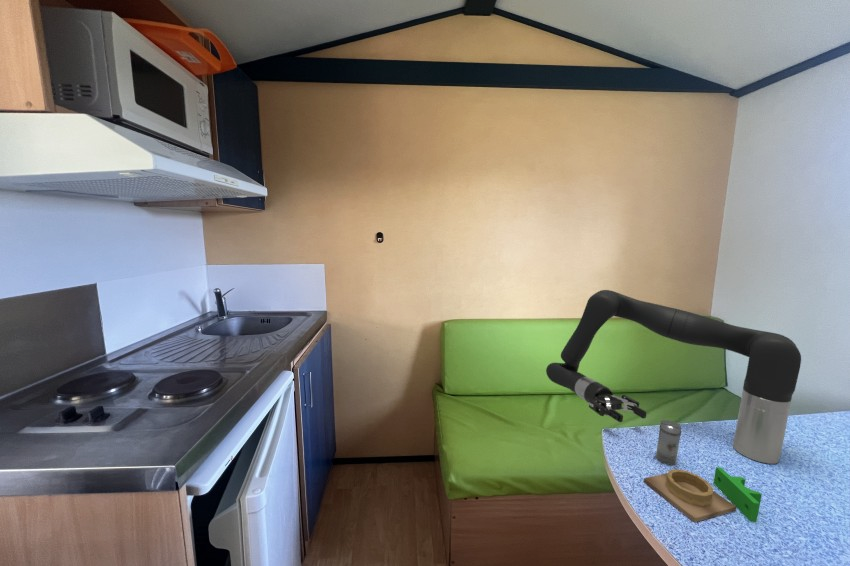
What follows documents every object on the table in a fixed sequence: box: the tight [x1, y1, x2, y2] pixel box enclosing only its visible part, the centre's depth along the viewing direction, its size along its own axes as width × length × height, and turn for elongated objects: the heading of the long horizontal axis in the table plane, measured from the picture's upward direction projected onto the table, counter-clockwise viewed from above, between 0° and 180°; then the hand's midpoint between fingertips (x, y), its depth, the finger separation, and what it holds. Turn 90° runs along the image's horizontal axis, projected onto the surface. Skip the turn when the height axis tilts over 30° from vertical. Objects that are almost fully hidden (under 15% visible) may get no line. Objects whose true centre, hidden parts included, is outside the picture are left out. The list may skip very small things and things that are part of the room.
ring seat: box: [643, 468, 737, 523], centre depth 79 cm, size 12×12×4 cm
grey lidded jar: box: [655, 419, 682, 467], centre depth 91 cm, size 5×5×10 cm
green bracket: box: [713, 466, 763, 523], centre depth 77 cm, size 11×4×5 cm, turn 173°
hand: (633, 417), depth 101 cm, fingers open, 8 cm apart
